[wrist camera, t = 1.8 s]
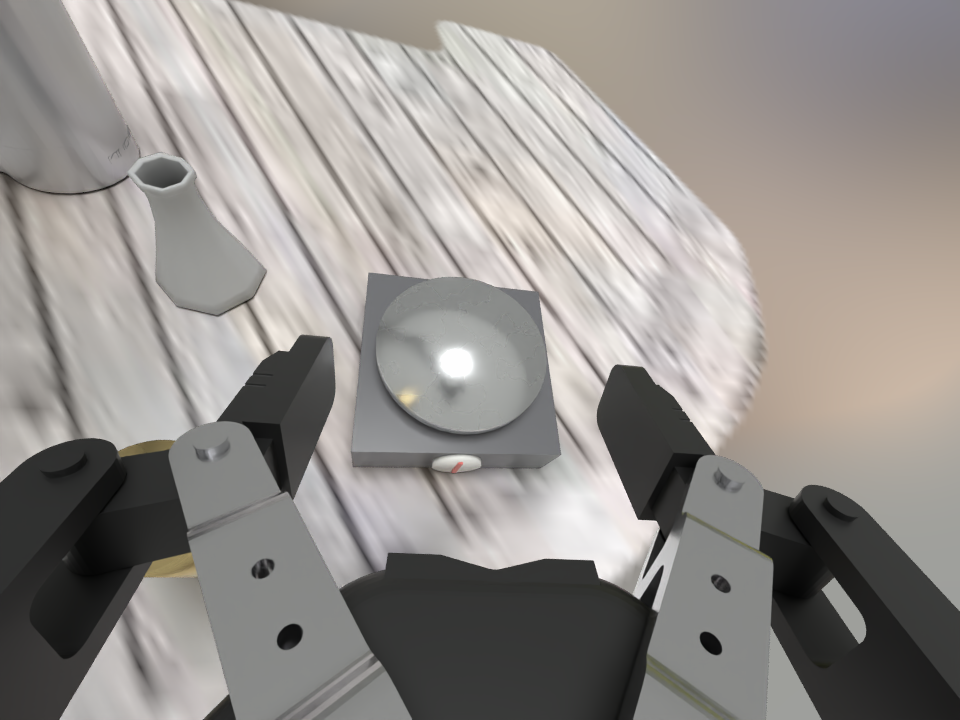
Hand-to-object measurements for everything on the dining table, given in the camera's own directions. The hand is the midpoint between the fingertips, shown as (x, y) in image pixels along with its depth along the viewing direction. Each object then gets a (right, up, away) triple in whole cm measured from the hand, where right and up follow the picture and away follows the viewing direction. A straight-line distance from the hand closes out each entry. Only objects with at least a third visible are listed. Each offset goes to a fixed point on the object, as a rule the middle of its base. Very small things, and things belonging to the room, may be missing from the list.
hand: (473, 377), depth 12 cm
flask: (-21, +7, +21) cm, 31 cm away
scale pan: (-1, +1, +17) cm, 18 cm away
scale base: (-2, -1, +22) cm, 22 cm away
